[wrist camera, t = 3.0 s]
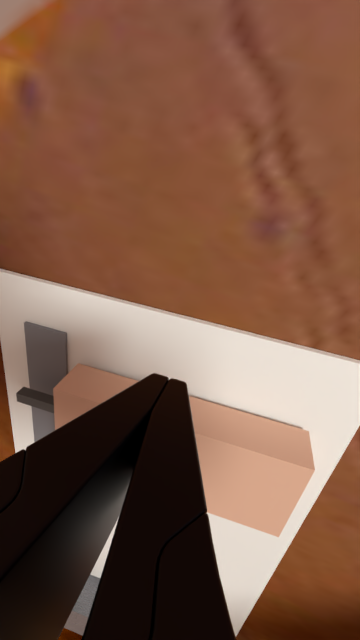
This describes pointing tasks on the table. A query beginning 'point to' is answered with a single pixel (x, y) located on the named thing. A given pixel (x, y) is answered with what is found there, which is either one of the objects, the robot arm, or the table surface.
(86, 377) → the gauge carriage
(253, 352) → the base
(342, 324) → the table surface
